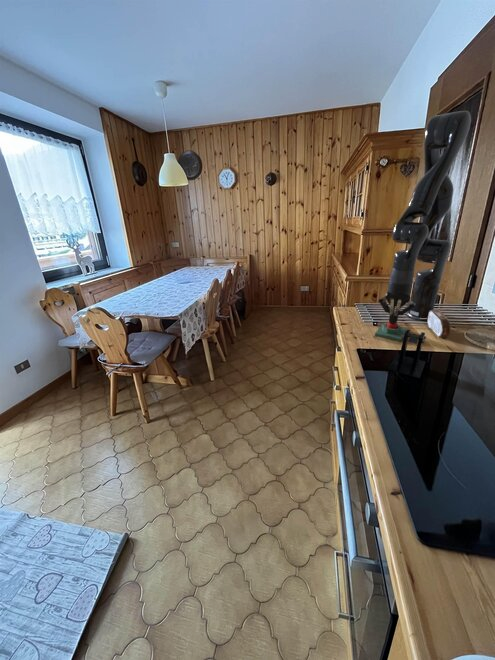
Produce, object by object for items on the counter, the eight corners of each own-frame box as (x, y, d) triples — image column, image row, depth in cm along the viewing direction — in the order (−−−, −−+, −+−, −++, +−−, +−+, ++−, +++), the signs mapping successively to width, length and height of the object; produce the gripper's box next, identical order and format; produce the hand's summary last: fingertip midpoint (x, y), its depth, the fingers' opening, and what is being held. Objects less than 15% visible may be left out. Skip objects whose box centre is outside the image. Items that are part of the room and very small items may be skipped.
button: (388, 324, 114) (388, 320, 113) (397, 326, 111) (398, 322, 111) (385, 327, 111) (386, 323, 110) (395, 330, 109) (396, 326, 108)
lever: (408, 338, 99) (410, 331, 98) (424, 342, 96) (426, 335, 96) (403, 340, 88) (405, 333, 88) (421, 344, 85) (423, 337, 85)
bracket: (395, 356, 99) (402, 323, 93) (425, 364, 94) (434, 330, 88) (387, 371, 91) (394, 337, 86) (418, 381, 86) (428, 344, 81)
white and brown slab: (447, 342, 106) (453, 321, 102) (438, 341, 106) (444, 321, 103) (432, 324, 119) (437, 306, 115) (424, 324, 119) (428, 306, 116)
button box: (382, 327, 119) (383, 318, 117) (405, 332, 114) (407, 323, 112) (374, 337, 112) (376, 328, 110) (399, 343, 106) (401, 334, 105)
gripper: (423, 279, 101) (413, 323, 109) (384, 275, 109) (377, 316, 117) (419, 285, 96) (409, 330, 104) (378, 280, 104) (372, 322, 112)
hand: (392, 323), depth 110 cm, fingers closed
